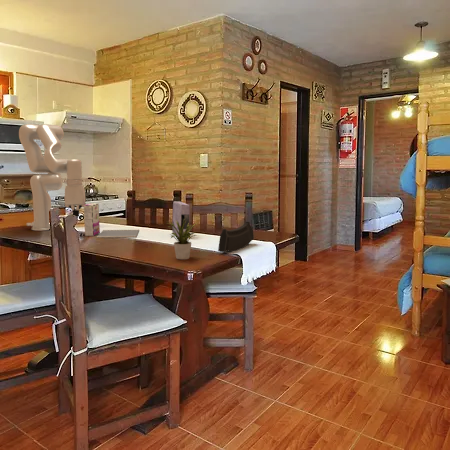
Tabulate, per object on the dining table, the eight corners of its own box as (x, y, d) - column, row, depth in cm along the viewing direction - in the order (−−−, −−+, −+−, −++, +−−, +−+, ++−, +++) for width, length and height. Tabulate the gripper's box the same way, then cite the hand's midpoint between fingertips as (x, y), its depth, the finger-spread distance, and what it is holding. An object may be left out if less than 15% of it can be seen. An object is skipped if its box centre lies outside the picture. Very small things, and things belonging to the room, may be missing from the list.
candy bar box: (91, 233, 244) (90, 203, 242) (100, 233, 244) (99, 203, 242) (84, 236, 233) (83, 204, 231) (93, 236, 233) (92, 205, 231)
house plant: (155, 260, 175) (154, 218, 173) (171, 253, 188) (171, 215, 186) (187, 263, 170) (187, 220, 168) (202, 256, 183) (202, 216, 181)
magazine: (222, 234, 184) (250, 207, 208) (215, 233, 185) (244, 207, 209) (227, 271, 190) (254, 241, 214) (220, 270, 192) (248, 240, 216)
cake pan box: (190, 238, 229) (190, 204, 226) (180, 238, 227) (180, 204, 224) (180, 233, 246) (180, 201, 244) (172, 233, 245) (171, 201, 242)
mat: (96, 238, 227) (96, 236, 227) (103, 231, 251) (103, 230, 251) (136, 237, 230) (136, 236, 230) (139, 230, 253) (139, 229, 253)
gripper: (58, 183, 230) (59, 218, 232) (88, 183, 231) (89, 218, 234) (61, 182, 237) (63, 217, 239) (90, 182, 239) (91, 216, 241)
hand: (76, 217), depth 236 cm, fingers closed
